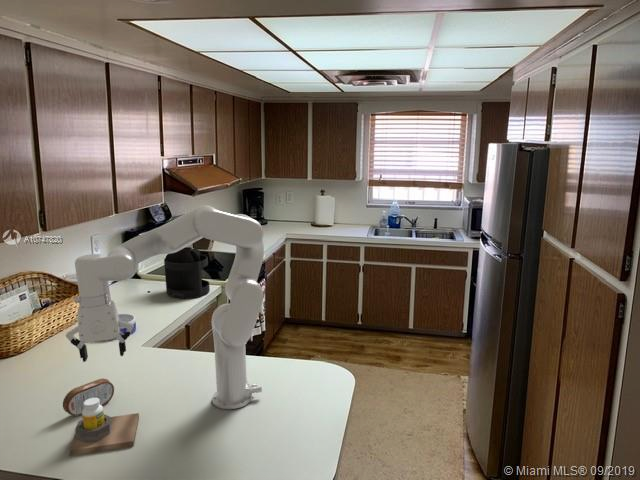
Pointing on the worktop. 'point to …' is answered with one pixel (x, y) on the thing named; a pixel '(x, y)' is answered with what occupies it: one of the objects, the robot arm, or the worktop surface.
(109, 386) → the tin
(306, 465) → the worktop surface
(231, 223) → the robot arm
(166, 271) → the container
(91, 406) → the supplement bottle
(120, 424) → the holder board
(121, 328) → the dog bowl
